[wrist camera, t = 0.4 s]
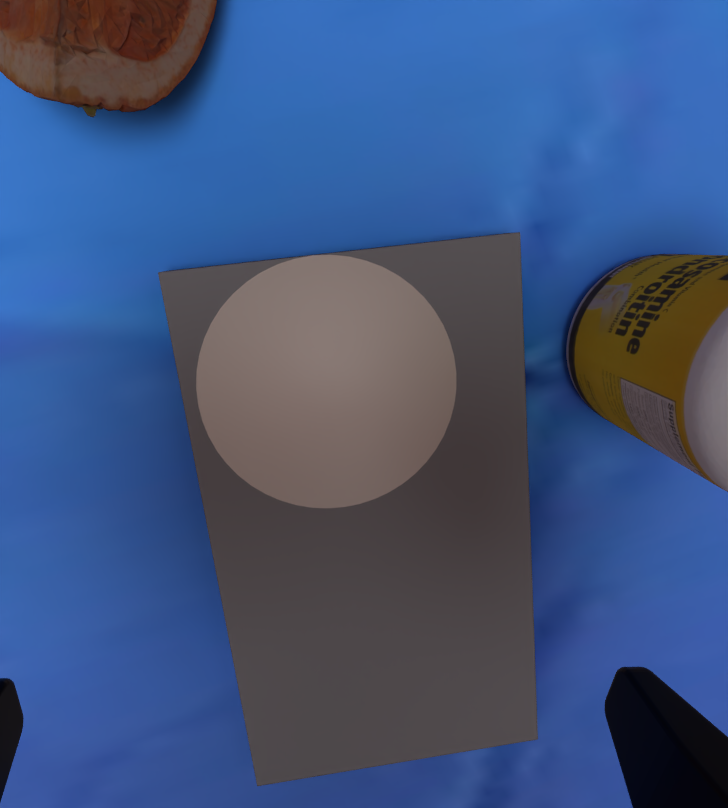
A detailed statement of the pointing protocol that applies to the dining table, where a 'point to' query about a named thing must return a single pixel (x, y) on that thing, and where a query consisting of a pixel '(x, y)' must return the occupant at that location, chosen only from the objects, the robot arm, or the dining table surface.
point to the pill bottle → (659, 356)
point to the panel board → (366, 496)
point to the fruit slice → (102, 49)
